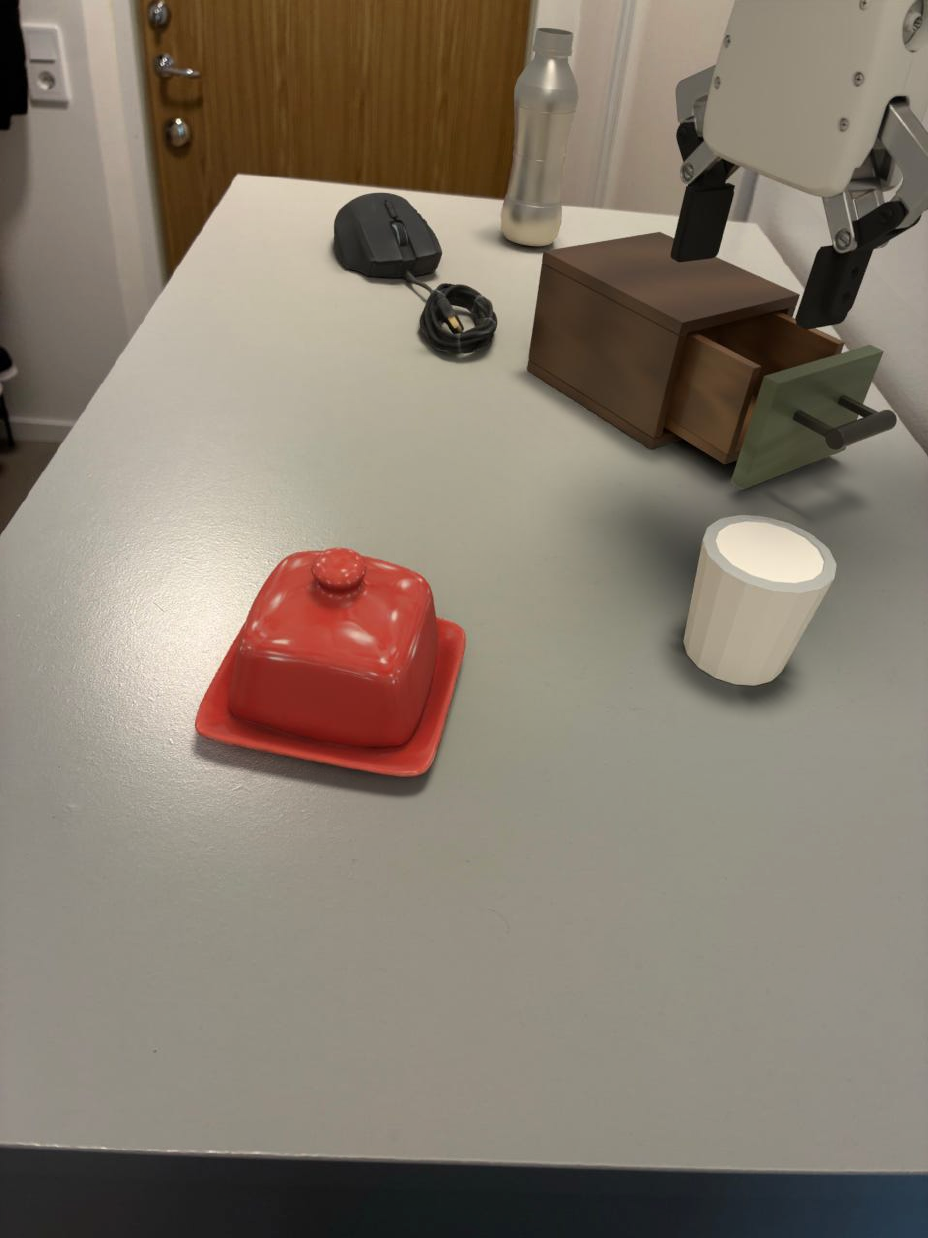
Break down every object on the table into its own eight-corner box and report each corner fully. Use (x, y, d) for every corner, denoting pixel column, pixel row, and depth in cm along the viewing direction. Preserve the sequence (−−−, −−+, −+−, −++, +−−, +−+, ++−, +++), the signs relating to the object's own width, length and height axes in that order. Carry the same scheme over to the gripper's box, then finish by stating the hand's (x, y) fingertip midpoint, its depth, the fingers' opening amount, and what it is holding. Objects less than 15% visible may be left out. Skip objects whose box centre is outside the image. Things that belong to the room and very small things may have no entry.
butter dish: (427, 801, 43) (441, 663, 38) (184, 753, 44) (164, 611, 39) (470, 641, 52) (486, 510, 47) (267, 603, 53) (259, 471, 47)
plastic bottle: (532, 257, 100) (562, 39, 88) (485, 239, 104) (506, 26, 91) (569, 246, 104) (603, 35, 92) (522, 228, 108) (548, 23, 95)
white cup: (820, 667, 53) (865, 566, 48) (736, 710, 50) (776, 606, 45) (730, 599, 57) (764, 500, 53) (647, 634, 54) (676, 532, 49)
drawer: (892, 476, 69) (937, 375, 64) (791, 519, 63) (832, 411, 58) (711, 376, 79) (736, 282, 74) (609, 405, 73) (630, 305, 68)
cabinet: (762, 413, 77) (800, 294, 71) (650, 449, 71) (682, 322, 64) (635, 342, 86) (659, 231, 79) (526, 369, 79) (543, 250, 73)
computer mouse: (398, 230, 103) (400, 176, 100) (530, 355, 81) (539, 292, 78) (313, 234, 100) (313, 179, 96) (428, 366, 78) (432, 300, 74)
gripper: (1103, -72, 37) (925, 344, 48) (783, -115, 48) (697, 232, 59) (986, -86, 34) (824, 365, 45) (671, -129, 45) (602, 242, 55)
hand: (752, 289), depth 52 cm, fingers open, 9 cm apart
